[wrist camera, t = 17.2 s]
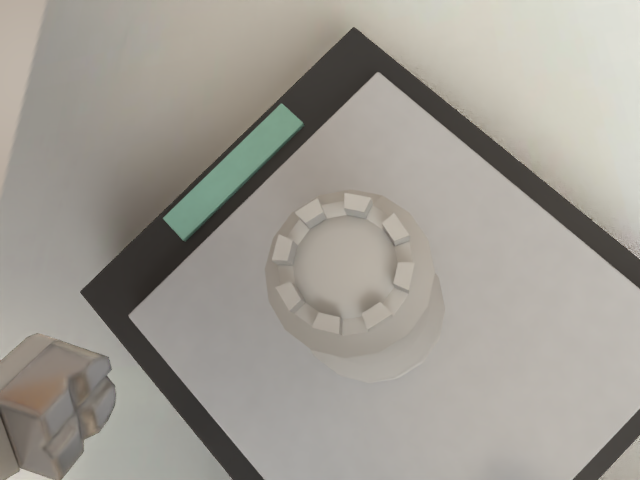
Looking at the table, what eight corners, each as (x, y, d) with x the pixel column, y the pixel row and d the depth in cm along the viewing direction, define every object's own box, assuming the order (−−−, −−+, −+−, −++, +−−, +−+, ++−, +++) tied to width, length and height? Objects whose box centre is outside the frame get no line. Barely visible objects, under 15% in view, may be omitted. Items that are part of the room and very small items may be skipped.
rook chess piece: (337, 219, 18) (284, 109, 11) (466, 273, 17) (513, 195, 10) (278, 344, 18) (177, 324, 10) (409, 408, 17) (409, 441, 9)
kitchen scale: (120, 301, 23) (65, 288, 19) (360, 68, 24) (351, 12, 20) (402, 638, 19) (401, 704, 15) (686, 341, 19) (750, 334, 16)
